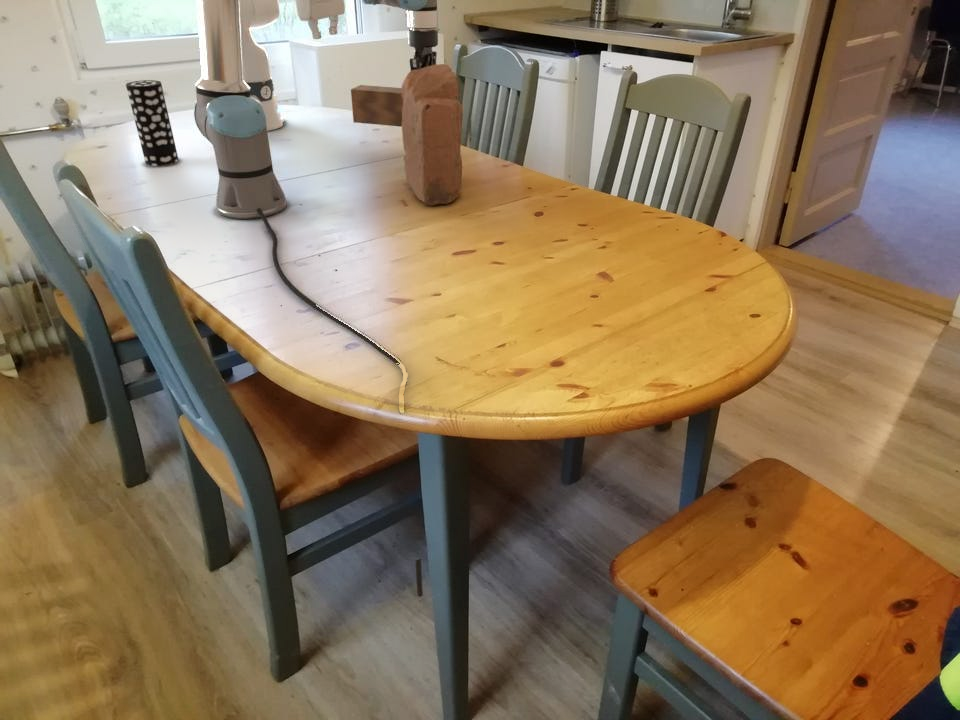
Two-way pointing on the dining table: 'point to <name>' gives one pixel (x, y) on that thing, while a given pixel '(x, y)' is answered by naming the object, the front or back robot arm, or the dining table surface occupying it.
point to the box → (377, 105)
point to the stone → (432, 134)
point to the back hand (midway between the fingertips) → (325, 36)
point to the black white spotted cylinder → (152, 122)
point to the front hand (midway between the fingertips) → (425, 123)
